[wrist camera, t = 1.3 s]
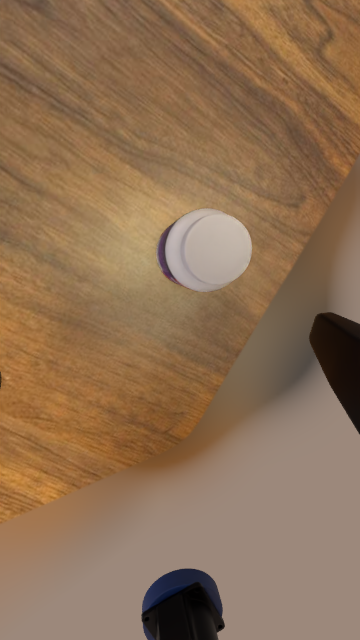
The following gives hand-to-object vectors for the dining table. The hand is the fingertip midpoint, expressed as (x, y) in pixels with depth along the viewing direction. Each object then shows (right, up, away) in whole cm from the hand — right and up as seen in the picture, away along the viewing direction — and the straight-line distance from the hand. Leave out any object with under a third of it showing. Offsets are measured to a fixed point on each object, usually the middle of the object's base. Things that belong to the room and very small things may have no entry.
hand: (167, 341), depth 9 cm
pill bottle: (+1, +6, +19) cm, 20 cm away
